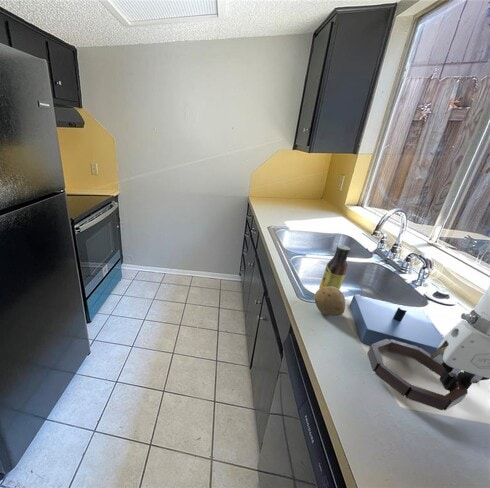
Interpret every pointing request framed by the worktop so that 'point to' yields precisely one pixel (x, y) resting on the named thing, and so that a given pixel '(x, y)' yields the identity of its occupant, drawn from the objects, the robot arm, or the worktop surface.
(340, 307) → the brown potato
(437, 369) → the walnut ring
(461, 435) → the worktop surface
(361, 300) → the ring stand
